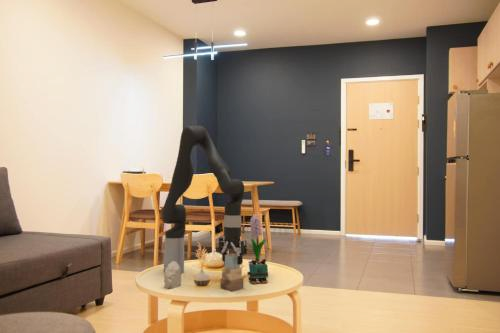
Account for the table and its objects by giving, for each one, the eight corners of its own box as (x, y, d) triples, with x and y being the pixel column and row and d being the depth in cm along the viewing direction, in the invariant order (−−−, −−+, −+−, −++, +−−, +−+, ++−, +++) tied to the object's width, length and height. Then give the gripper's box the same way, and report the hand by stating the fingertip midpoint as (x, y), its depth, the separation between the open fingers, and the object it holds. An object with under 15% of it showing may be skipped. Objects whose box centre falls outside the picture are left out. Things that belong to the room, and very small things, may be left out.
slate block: (224, 267, 189) (224, 255, 189) (231, 266, 192) (231, 253, 192) (232, 269, 186) (232, 256, 186) (239, 267, 189) (239, 254, 189)
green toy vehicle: (263, 257, 207) (269, 259, 197) (263, 280, 206) (270, 283, 196) (244, 258, 204) (250, 260, 195) (245, 281, 203) (251, 284, 194)
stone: (170, 289, 186) (170, 265, 186) (161, 288, 188) (161, 263, 188) (183, 284, 194) (183, 260, 194) (175, 283, 196) (175, 259, 196)
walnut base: (220, 288, 188) (220, 278, 188) (231, 285, 194) (231, 275, 194) (232, 292, 184) (232, 281, 184) (243, 288, 189) (243, 278, 189)
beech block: (221, 278, 189) (221, 267, 189) (232, 275, 193) (232, 265, 193) (231, 280, 185) (231, 270, 185) (241, 278, 189) (241, 267, 189)
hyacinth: (272, 276, 209) (272, 213, 209) (257, 280, 201) (257, 215, 201) (258, 273, 215) (258, 212, 215) (243, 277, 207) (244, 213, 207)
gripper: (214, 224, 190) (214, 262, 190) (239, 228, 181) (238, 267, 181) (226, 223, 196) (226, 259, 196) (250, 226, 187) (250, 264, 187)
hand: (232, 263), depth 189 cm, fingers open, 8 cm apart
